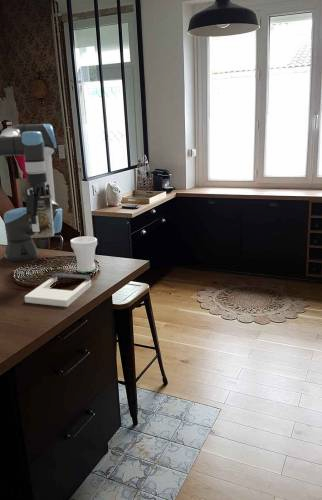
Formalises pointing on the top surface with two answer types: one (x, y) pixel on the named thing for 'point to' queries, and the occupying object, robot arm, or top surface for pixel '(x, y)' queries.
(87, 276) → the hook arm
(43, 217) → the grey rectangular box
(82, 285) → the white rectangular frame
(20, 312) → the top surface
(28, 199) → the robot arm
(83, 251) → the cup
